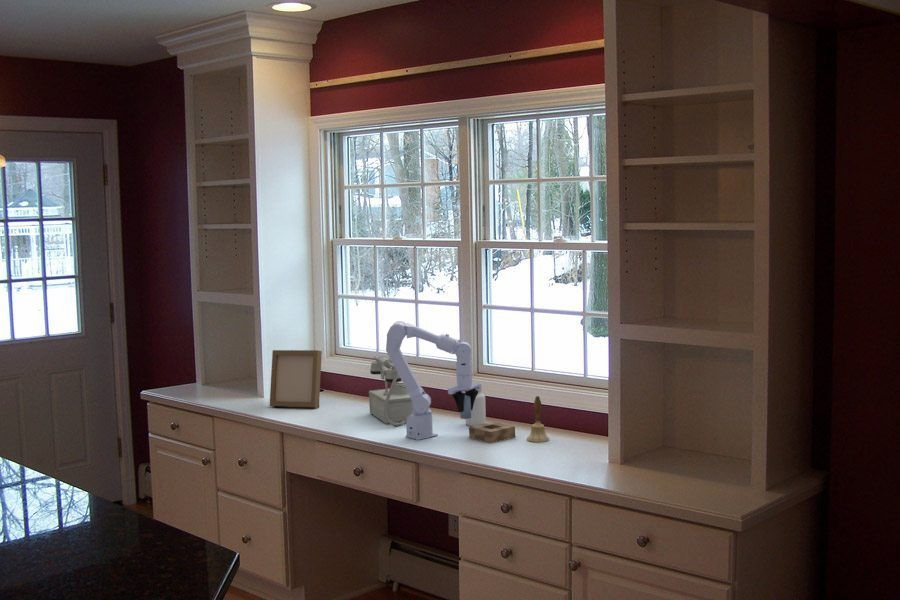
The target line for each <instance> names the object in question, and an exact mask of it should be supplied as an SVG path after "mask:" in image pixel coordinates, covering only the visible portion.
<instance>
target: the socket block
mask: <svg viewBox="0 0 900 600" xmlns="http://www.w3.org/2000/svg"><path fill="white" fill-rule="evenodd" d="M512 437H514V438H515V437H516V426H514V425H510V424H506V423H501V422H496V421H490V422H486V423H485V424H480V425H476V426H469V427H468V438H469V439H472V438H473V439H474V440H478V441H482V442H485V443H489V442H490V443H489V444H493V443H497V442H500V440H501V441H505V440H508V438H510V439H513V438H512ZM504 439H505V440H504ZM496 441H497V442H496ZM492 442H493V443H492Z"/></svg>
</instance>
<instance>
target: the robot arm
mask: <svg viewBox="0 0 900 600" xmlns="http://www.w3.org/2000/svg"><path fill="white" fill-rule="evenodd" d="M405 338H406V339H410V338H411V339H412V338H418V339H421V340H424V341H426V342H430V343H432V344H435V346H436V348H437V349H438V350H440V351H443V352H445V353H449V354H451V355H455V356H456V363H455V364H456V366H455V367H456V371H455V372H456V385H455V386H453V387H449V388H447V393H448V395H451V396H452V397H453V400H454V402H455V403H456V408H457V411H458V412H463V410H464V397H465V395H468V396H471V410H473V405H474V401H475V398H476V396H477V394H478V391H477V390H476V389H481V387H482V383H479V382H477V383H473V369H472V367H473V366H472V364H473V363H472V357H471V356H472V355H471V354H472V345H470V343H469V342H467V341H466V340H462V339H460V338H459V339H457V338H454V337H452V336H450V334H449V333H446V334H443V333H442V334H440V335H437V334H435V333H433V332H430V331H428V330H426V329H423V328H421V327H419V326H417V325H415V324H412V323H408V322H407V323H405V322H404V321H401V320H400V321H396V322H394V323H393V324H392V325H391V326H390V327H389V329H388V330H387V333H386V346H385V352H386V353H387V355H388V357H389V359H390V360H391V361H392V363H393V365H394V367H395V368H396V370H397V372H398V374H399V376H400V377H401V382H402V384H404V385H405V387H406V388H407V390H408V392H409V396H410V399H411V401H412V407H413V413H412V414H411V415H409V416H408V417H407V419H406V422H405V424H406V425H405V426H406V435H405V438H409V439H413V440H424V439H428V438H431V437H437V436H438V433H434V432H433V413H432V412H433V411H432V409H430V406H431V404H432V398H431V395H429V394H428V393H426V392H425V390H424V388H423V387H422V386H421V385H420V383H419V382H418V379H417V378H416V376H415V374H414V372H413V370H412V368H411V367H410V365H409V363H408V361H407V360H406V357H405V356H404V354H403V353H402V350H401V347H402V346H401V345H402V344H403V341H404V340H405ZM463 392H464V393H463Z"/></svg>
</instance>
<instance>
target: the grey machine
mask: <svg viewBox="0 0 900 600" xmlns="http://www.w3.org/2000/svg"><path fill="white" fill-rule="evenodd" d="M373 359H374V361H371V364H370V369H369V371H370V375H380V378H381V380H382V381H383V380H384V385H385V386H384V387H385V388H383V389H381V388H380V389H374V390H373V389H372V390H368V399H369V400H368V401H369V404H368V405H369V414H370V413H371V414H370V415H372V414H373V415H374V416H373V415H372V416H373V417H375V416H376V417H377V419H378V418H379V419H380V420H379V419H378V420H379V421H381V420H382V421H381V422H383V423H384V422H385V423H384V424H386V425H390V426H393V427H400V426H399V425H401V426H403V424H404V425H405V424H406V419H407V417H408V416H409V415H411V414H412V413H413V407H412V401H411V399H410V396H409V392H408V390H407V388H406V387H405V385H404V383H400V382H402V379H401V377H400V376H399V374H398V372H397V370H396V368H395V367H394V365H393V363H392V361H391V359H390V358H386V357H384V355H383V356H382V355H381V356H373ZM390 383H391V385H390V387H389V388H388V384H390ZM376 417H375V418H376ZM399 422H400V423H399ZM388 423H389V424H388Z"/></svg>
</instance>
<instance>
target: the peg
mask: <svg viewBox="0 0 900 600" xmlns="http://www.w3.org/2000/svg"><path fill="white" fill-rule="evenodd" d="M459 412H460V411H459ZM459 417H460V419H464V420H466V419H469V418H471V396H468V395H466V394H465V397H464V410H463V412H460V415H459Z"/></svg>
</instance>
